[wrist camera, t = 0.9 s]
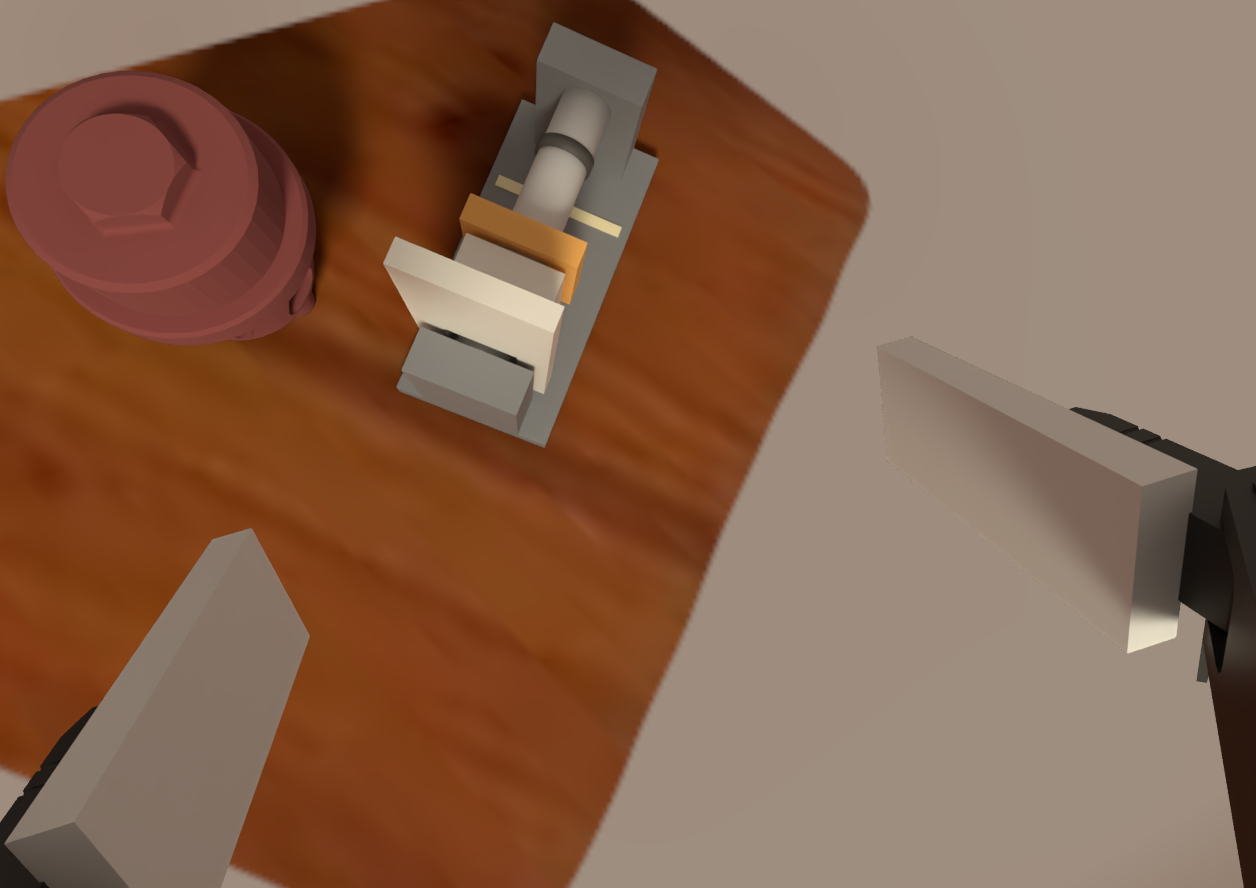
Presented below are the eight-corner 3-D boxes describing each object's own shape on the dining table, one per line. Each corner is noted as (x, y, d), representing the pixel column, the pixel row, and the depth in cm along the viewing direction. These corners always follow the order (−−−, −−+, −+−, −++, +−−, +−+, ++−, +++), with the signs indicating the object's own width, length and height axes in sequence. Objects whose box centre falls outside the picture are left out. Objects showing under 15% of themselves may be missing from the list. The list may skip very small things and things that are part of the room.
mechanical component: (159, 391, 35) (134, 198, 36) (367, 362, 37) (339, 178, 38) (-31, 325, 23) (-63, 38, 24) (289, 286, 25) (251, 18, 26)
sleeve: (543, 394, 36) (553, 332, 24) (430, 349, 35) (383, 263, 23) (572, 322, 36) (596, 228, 25) (461, 277, 36) (430, 158, 24)
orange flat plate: (569, 304, 35) (577, 268, 30) (469, 263, 34) (459, 218, 29) (578, 282, 35) (587, 242, 30) (478, 241, 34) (470, 192, 29)
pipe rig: (544, 447, 38) (550, 428, 30) (400, 391, 37) (366, 356, 29) (655, 169, 40) (687, 83, 32) (522, 111, 40) (521, 7, 31)
